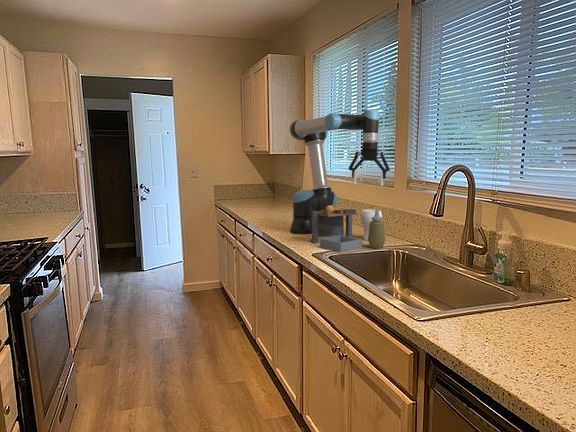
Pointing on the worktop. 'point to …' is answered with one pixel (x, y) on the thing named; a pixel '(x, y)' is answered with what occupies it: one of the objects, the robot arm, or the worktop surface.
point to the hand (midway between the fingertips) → (368, 184)
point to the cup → (367, 220)
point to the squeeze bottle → (376, 231)
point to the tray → (340, 243)
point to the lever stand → (315, 227)
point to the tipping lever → (332, 222)
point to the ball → (330, 208)
